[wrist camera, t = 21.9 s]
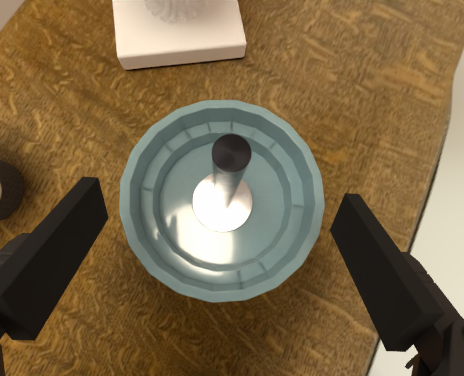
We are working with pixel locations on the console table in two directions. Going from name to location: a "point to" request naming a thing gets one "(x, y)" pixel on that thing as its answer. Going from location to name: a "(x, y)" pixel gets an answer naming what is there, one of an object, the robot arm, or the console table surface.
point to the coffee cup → (9, 189)
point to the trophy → (177, 31)
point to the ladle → (225, 187)
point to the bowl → (197, 235)
